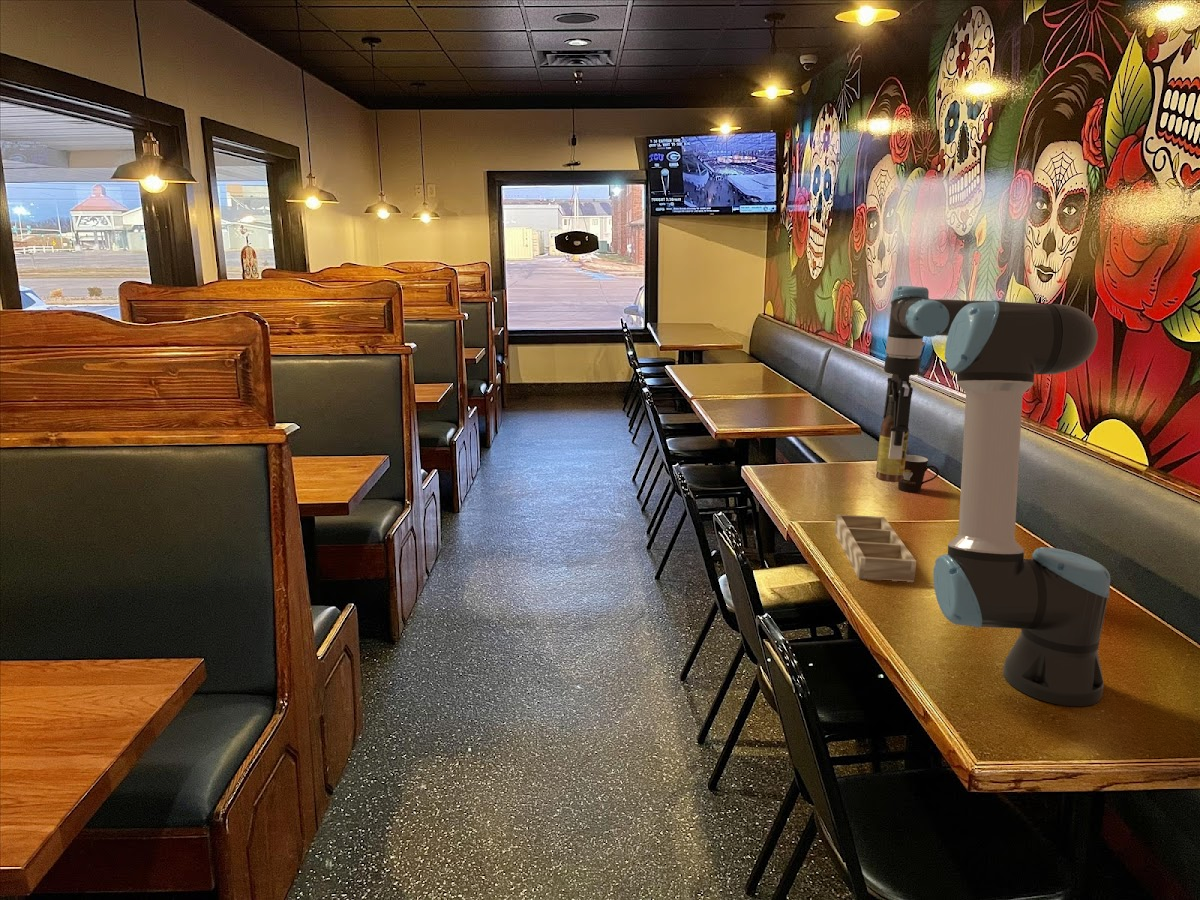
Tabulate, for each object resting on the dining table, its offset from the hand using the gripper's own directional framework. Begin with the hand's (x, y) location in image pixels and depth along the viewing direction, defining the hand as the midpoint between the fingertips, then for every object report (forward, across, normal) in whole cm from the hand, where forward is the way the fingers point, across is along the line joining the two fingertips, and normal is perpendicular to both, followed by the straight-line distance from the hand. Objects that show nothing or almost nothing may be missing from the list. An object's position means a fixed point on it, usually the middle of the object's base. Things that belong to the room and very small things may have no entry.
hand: (891, 454), depth 195 cm
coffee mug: (+26, +60, -22) cm, 69 cm away
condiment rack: (+25, 0, +2) cm, 25 cm away
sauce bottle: (+6, 0, 0) cm, 6 cm away
